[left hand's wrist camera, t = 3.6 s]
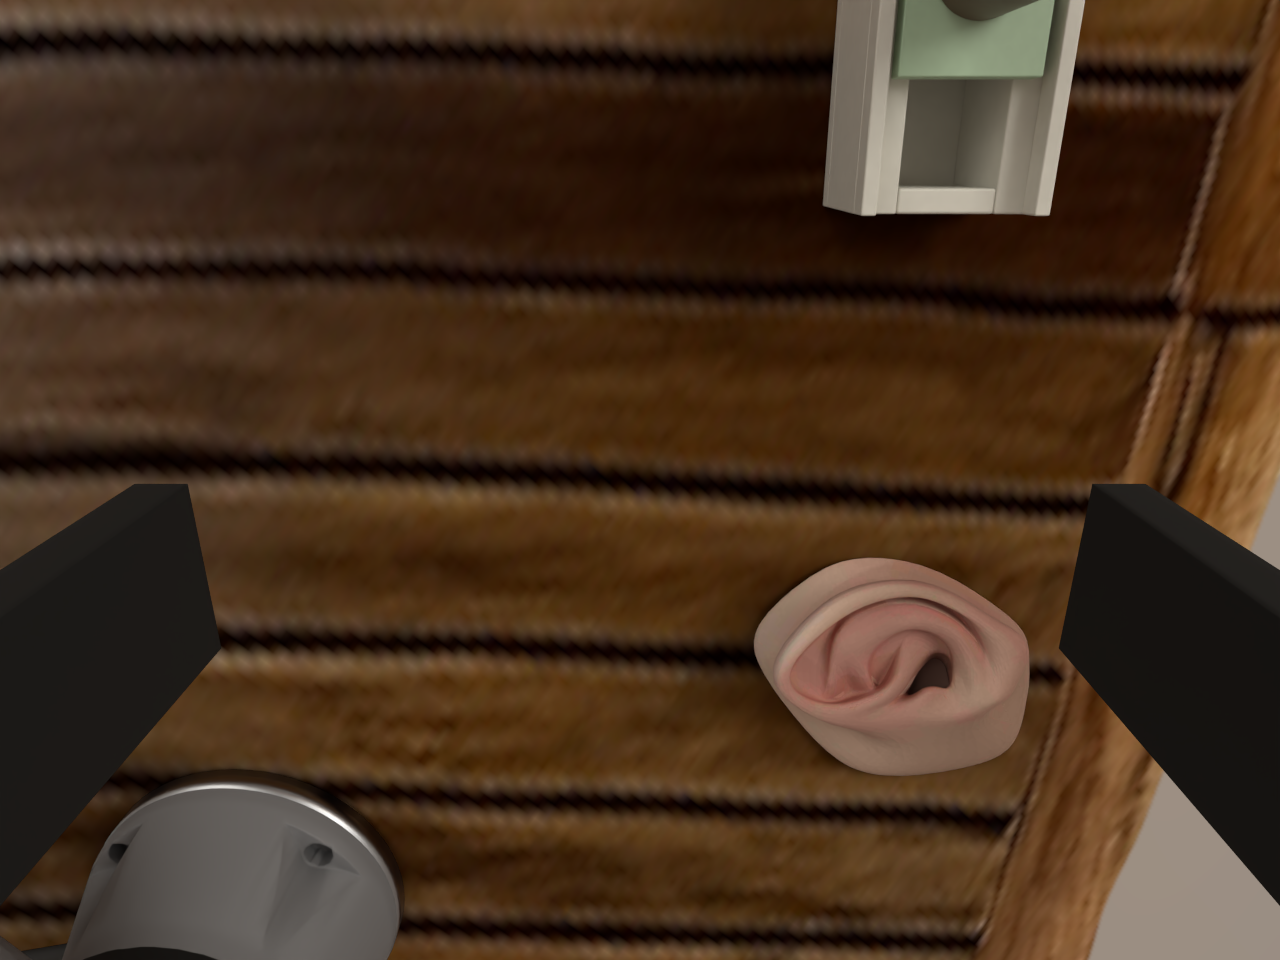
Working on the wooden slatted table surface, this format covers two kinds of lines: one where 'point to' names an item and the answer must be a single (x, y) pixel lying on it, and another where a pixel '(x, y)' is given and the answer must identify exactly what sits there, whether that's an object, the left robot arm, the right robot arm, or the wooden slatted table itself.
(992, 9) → the sliding lid
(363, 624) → the wooden slatted table surface
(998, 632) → the anatomical model
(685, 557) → the wooden slatted table surface
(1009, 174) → the pencil box
